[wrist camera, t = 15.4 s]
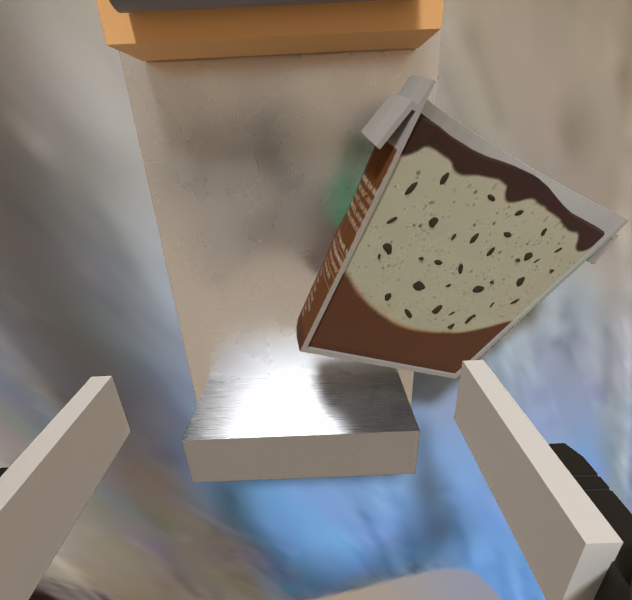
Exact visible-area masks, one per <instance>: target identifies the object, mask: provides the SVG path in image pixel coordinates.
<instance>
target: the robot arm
mask: <svg viewBox="0 0 632 600" xmlns="http://www.w3.org/2000/svg"><path fill="white" fill-rule="evenodd" d="M454 419H455V421H456V423H457V425H458V427H459V429H460V431H461V433H462V435H463V437H464V439H465V440H466V442H467V444H468V446H469V448H470V450H471V452H472V454H473V456H474V458H475V460H476V462H477V464H478V466H479V468H480V470H481V472H482V474H483V476H484V478H485V480H486V482H487V484H488V486H489V488H490V490H491V492H492V494H493V496H494V498H495V500H496V502H497V504H498V506H499V507H500V509H501V511H502V513H503V515H504V517H505V519H506V521H507V523H508V525H509V527H510V529H511V531H512V533H513V535H514V537H515V539H516V541H517V543H518V545H519V547H520V549H521V551H522V553H523V555H524V557H525V559H526V561H527V563H528V565H529V567H530V569H531V571H532V573H533V575H534V576H535V578H536V580H537V582H538V584H539V586H540V588H541V590H542V592H543V594H544V596H545V598H546V600H632V514H631V513H630V512H629V510H628V509H627V508H626V507H625V506H624V504H623V503H622V502H621V501H620V500H619V499H618V497H617V496H616V495H615V494H614V493H613V491H610V490H609V487H608V486H607V484H606V483H605V482H604V481H603V480H602V478H601V477H598V475H597V473H596V471H595V470H594V469H593V468H592V467H591V466H590V464H589V463H588V462H587V461H586V460H585V458H584V457H583V456H581V455H580V454H578V453H577V452H576V451H574V450H573V449H572V448H570V447H569V446H567V445H566V444H565V443H558V444H548V443H547V442H546V441H545V440H544V438H543V437H542V436H541V434H540V433H539V432H538V430H537V429H536V428H535V427H534V425H533V424H532V423H531V421H530V420H529V419H528V417H527V416H526V415H525V414H524V412H523V411H522V410H521V408H520V407H519V406H518V404H517V403H516V402H515V401H514V399H513V398H512V397H511V395H510V394H509V393H508V391H507V390H506V389H505V388H504V386H503V385H502V384H501V382H500V381H499V380H498V378H497V377H496V376H495V375H494V373H493V372H492V371H491V369H490V368H489V367H488V365H487V364H486V363H485V361H484V360H468V361H463V362H462V368H461V375H460V382H459V389H458V395H457V402H456V409H455V415H454ZM130 432H131V431H130V428H129V425H128V422H127V419H126V416H125V413H124V410H123V407H122V404H121V402H120V399H119V396H118V393H117V390H116V387H115V384H114V381H113V378H112V376H97V377H91V378H90V379H89V380H88V381H87V382H86V383H85V384H84V386H83V387H82V388H81V389H80V390H79V391H78V392H77V393H76V394H75V396H74V397H73V398H72V399H71V400H70V401H69V402H68V403H67V404H66V405H65V407H64V408H63V409H62V410H61V411H60V412H59V413H58V414H57V415H56V416H55V418H54V419H53V420H52V421H51V422H50V423H49V424H48V425H47V426H46V427H45V429H44V430H43V431H42V432H41V433H40V434H39V435H38V436H37V437H36V438H35V440H34V441H33V442H32V443H31V444H30V445H29V446H28V447H27V448H26V449H25V451H24V452H23V453H22V454H21V455H20V456H19V457H18V458H17V459H16V460H15V462H14V463H13V464H12V465H11V466H10V467H9V468H0V600H29V598H30V596H31V595H32V593H33V591H34V590H35V588H36V587H37V585H38V583H39V582H40V580H41V578H42V577H43V575H44V573H45V572H46V570H47V568H48V567H49V565H50V563H51V562H52V560H53V559H54V557H55V555H56V554H57V552H58V550H59V549H60V547H61V545H62V544H63V542H64V540H65V539H66V537H67V536H68V534H69V532H70V531H71V529H72V527H73V526H74V524H75V522H76V521H77V519H78V517H79V516H80V514H81V512H82V511H83V509H84V508H85V506H86V504H87V503H88V501H89V499H90V498H91V496H92V494H93V493H94V491H95V489H96V488H97V486H98V485H99V483H100V481H101V480H102V478H103V476H104V475H105V473H106V471H107V470H108V468H109V466H110V465H111V463H112V462H113V460H114V458H115V457H116V455H117V453H118V452H119V450H120V448H121V447H122V445H123V443H124V442H125V440H126V438H127V437H128V435H129V434H130Z"/></svg>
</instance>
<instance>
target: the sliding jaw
mask: <svg viewBox="0 0 632 600" xmlns="http://www.w3.org/2000/svg"><path fill="white" fill-rule="evenodd" d="M96 1H97V6H98V10H99V14H100V18H101V23H102V27H103V31H104V36H105V40H106V44H107V45H108V46H110V47H112V48H115V49H117V50H119V51H121V52H123V53H126V54H128V55H130V56H132V57H134V58H137V59H139V60H141V61H156V60H177V59H197V58H218V57H239V56H259V55H280V54H301V53H321V52H342V51H363V50H383V49H404V48H419V47H420V46H421V45H423V44H424V43H425V42H426V41H427V40H428V39H430V38H431V37H432V36H433V35H434V34H435V33H437V32H438V31H439V30H440V29H441V27H442V15H443V2H444V0H96Z"/></svg>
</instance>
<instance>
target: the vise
mask: <svg viewBox="0 0 632 600" xmlns="http://www.w3.org/2000/svg"><path fill="white" fill-rule="evenodd" d="M443 9H444V2H443ZM442 22H443V15H442ZM441 34H442V27H441V29H440V30H439V31H438V32H437V33H435V34H434V35H433V36H432V37H431V38H430V39H428V40H427V41H426V42H425V43H424V44H423V45H421V46H420V47H419V48H404V49H383V50H363V51H342V52H321V53H301V54H280V55H259V56H239V57H218V58H197V59H177V60H156V61H141V60H139V59H137V58H134V57H132V56H130V55H128V54H126V53H123V52H121V51H119V53H120V58H121V62H122V67H123V71H124V76H125V80H126V85H127V89H128V94H129V98H130V103H131V107H132V112H133V116H134V121H135V125H136V130H137V134H138V139H139V143H140V148H141V152H142V157H143V161H144V166H145V170H146V175H147V179H148V184H149V188H150V193H151V198H152V202H153V207H154V211H155V216H156V220H157V225H158V229H159V234H160V238H161V243H162V247H163V252H164V256H165V261H166V265H167V270H168V274H169V279H170V283H171V288H172V292H173V297H174V301H175V306H176V310H177V315H178V319H179V324H180V328H181V333H182V337H183V342H184V346H185V351H186V355H187V360H188V364H189V369H190V373H191V378H192V382H193V387H194V391H195V396H196V400H197V406H196V409H195V411H194V413H193V416H192V418H191V420H190V423H189V425H188V427H187V430H186V432H185V434H184V437H183V439H182V443H183V447H184V450H185V454H186V458H187V462H188V466H189V470H190V474H191V478H192V482H213V481H238V480H264V479H289V478H315V477H341V476H366V475H392V474H415V473H416V463H417V453H418V442H419V432H420V430H419V428H418V425H417V422H416V420H415V417H414V414H413V411H412V409H411V401H412V389H413V377H414V371H408V370H403V369H397V368H391V367H385V366H380V365H374V364H368V363H363V362H357V361H351V360H346V359H340V358H334V357H328V356H323V355H317V354H311V353H306V352H300V350H299V346H298V341H297V331H296V326H297V321H298V317H299V315H300V313H301V310H302V308H303V306H304V304H305V301H306V299H307V297H308V295H309V292H310V290H311V288H312V286H313V283H314V281H315V279H316V277H317V275H318V272H319V270H320V268H321V266H322V263H323V261H324V259H325V257H326V254H327V252H328V250H329V248H330V245H331V243H332V241H333V239H334V237H335V234H336V232H337V230H338V228H339V225H340V223H341V221H342V219H343V216H344V214H345V212H346V210H347V207H348V205H349V203H350V201H351V199H352V196H353V194H354V192H355V190H356V187H357V185H358V183H359V181H360V178H361V176H362V174H363V172H364V169H365V167H366V165H367V163H368V160H369V158H370V156H371V154H372V152H373V149H374V147H375V145H374V144H373V143H371V142H370V141H369V140H368V139H367V138H366V137H365V136H364V135H363V134H362V131H361V130H362V129H363V128H364V127H365V125H366V124H367V123H368V121H369V120H370V119H371V118H372V116H373V115H374V114H375V113H376V111H377V110H378V109H379V107H380V106H381V105H382V104H383V102H384V101H385V100H386V98H387V97H388V96H389V95H390V94H391V93H394V94H399V92H400V90H401V89H402V87H403V86H404V84H405V83H406V81H407V79H408V78H409V77H410V76H413V75H414V76H421V77H425V78H429V79H433V80H435V81H436V83H435V85H434V87H433V89H432V91H431V93H430V95H429V97H428V100H429V101H430V102H431V103H433V104H434V105H435V106H436V95H437V83H438V71H439V58H440V46H441Z"/></svg>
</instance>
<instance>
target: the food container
mask: <svg viewBox="0 0 632 600" xmlns="http://www.w3.org/2000/svg"><path fill="white" fill-rule="evenodd" d="M435 83H436V81H435V80H433V79H429V78H425V77H421V76H414V75H413V76H410V77H409V78H408V79H407V81H406V83H405V84H404V86H403V87H402V89H401V90H400V92H399V94H394V93H391V94H390V95H389V96H388V97H387V98H386V100H385V101H384V102H383V104H382V105H381V106H380V107H379V109H378V110H377V111H376V113H375V114H374V115H373V116H372V118H371V119H370V120H369V121H368V123H367V124H366V125H365V127H364V128H363V129H362V130H361V131H362V134H363V135H364V136H365V137H366V138H367V139H368V140H369V141H370V142H371V143H373V144H374V145H375V147H374V149H373V152H372V154H371V156H370V158H369V160H368V163H367V165H366V167H365V169H364V172H363V174H362V176H361V178H360V181H359V183H358V185H357V187H356V190H355V192H354V194H353V196H352V199H351V201H350V203H349V205H348V207H347V210H346V212H345V214H344V216H343V219H342V221H341V223H340V225H339V228H338V230H337V232H336V234H335V237H334V239H333V241H332V243H331V245H330V248H329V250H328V252H327V254H326V257H325V259H324V261H323V263H322V266H321V268H320V270H319V272H318V275H317V277H316V279H315V281H314V283H313V286H312V288H311V290H310V292H309V295H308V297H307V299H306V301H305V304H304V306H303V308H302V310H301V313H300V315H299V317H298V321H297V326H296V331H297V341H298V346H299V350H300V352H306V353H311V354H317V355H323V356H328V357H334V358H340V359H346V360H351V361H357V362H363V363H368V364H374V365H380V366H385V367H391V368H397V369H403V370H408V371H414V372H420V373H425V374H431V375H437V376H442V377H448V378H454V379H457V378H458V377H459V376H460V375H461V368H462V362H463V361H468V360H477V359H479V358H480V357H481V356H482V355H483V354H484V353H485V352H486V351H487V350H488V349H489V348H491V347H492V346H493V345H494V344H495V343H496V342H497V341H498V340H499V339H500V338H502V337H503V336H504V335H505V334H506V333H507V332H508V331H509V330H510V329H511V328H513V327H514V326H515V325H516V324H517V323H518V322H519V321H520V320H521V319H522V318H524V317H525V316H526V315H527V314H528V313H529V312H530V311H531V310H532V309H533V308H534V307H536V306H537V305H538V304H539V303H540V302H541V301H542V300H543V299H544V298H545V297H547V296H548V295H549V294H550V293H551V292H552V291H553V290H554V289H555V288H556V287H558V286H559V285H560V284H561V283H562V282H563V281H564V280H565V279H566V278H567V277H569V276H570V275H571V274H572V273H573V272H574V271H575V270H576V269H577V268H578V267H579V266H581V265H582V264H583V263H584V262H585V261H586V260H587V261H588V262H590V263H591V264H595V263H596V262H597V260H598V259H599V258H600V257H601V256H602V254H603V253H604V252H605V251H606V249H607V248H608V247H609V246H610V245H611V243H612V242H613V241H614V240H615V239H616V237H617V236H618V235H616V233H617V232H618V231H619V230H620V229H621V228H622V227H623V226H624V225H625V224H626V223H627V221H628V220H627V219H625V218H623V217H621V216H619V215H618V214H616V213H614V212H612V211H610V210H608V209H606V208H604V207H602V206H600V205H598V204H596V203H595V202H593V201H591V200H589V199H587V198H585V197H583V196H581V195H580V194H578V193H576V192H574V191H572V190H570V189H569V188H567V187H565V186H563V185H561V184H560V183H558V182H556V181H554V180H552V179H551V178H549V177H547V176H545V175H544V174H542V173H540V172H538V171H537V170H535V169H533V168H531V167H530V166H528V165H526V164H525V163H523V162H521V161H519V160H518V159H516V158H515V157H513V156H511V155H510V154H508V153H506V152H505V151H503V150H501V149H500V148H498V147H496V146H495V145H493V144H492V143H490V142H488V141H487V140H485V139H484V138H482V137H480V136H479V135H477V134H476V133H474V132H473V131H471V130H470V129H468V128H467V127H465V126H464V125H462V124H461V123H459V122H458V121H456V120H455V119H453V118H452V117H450V116H449V115H448V114H446V113H445V112H443V111H442V110H441V109H439V108H438V107H437V106H435V105H434V104H433V103H431V102H430V101H429V100H428V97H429V95H430V93H431V91H432V89H433V87H434V85H435Z"/></svg>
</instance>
